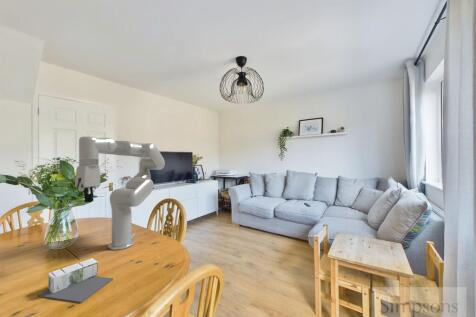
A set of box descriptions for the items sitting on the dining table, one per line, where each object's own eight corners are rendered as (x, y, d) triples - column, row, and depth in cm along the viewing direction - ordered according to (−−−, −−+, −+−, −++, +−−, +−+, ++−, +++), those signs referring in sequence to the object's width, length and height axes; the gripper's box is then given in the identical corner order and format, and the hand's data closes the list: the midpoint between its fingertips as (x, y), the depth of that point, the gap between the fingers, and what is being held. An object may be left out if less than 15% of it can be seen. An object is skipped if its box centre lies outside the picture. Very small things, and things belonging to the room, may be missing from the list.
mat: (75, 274, 87) (75, 273, 87) (113, 279, 84) (113, 278, 84) (37, 296, 73) (37, 295, 73) (81, 303, 70) (81, 301, 70)
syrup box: (92, 257, 89) (47, 272, 77) (98, 261, 85) (52, 278, 74) (92, 270, 89) (47, 288, 77) (98, 275, 86) (52, 294, 74)
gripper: (94, 162, 107) (94, 198, 107) (67, 163, 92) (67, 205, 92) (107, 162, 106) (107, 198, 106) (83, 163, 91) (83, 205, 91)
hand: (88, 201), depth 99 cm, fingers closed
